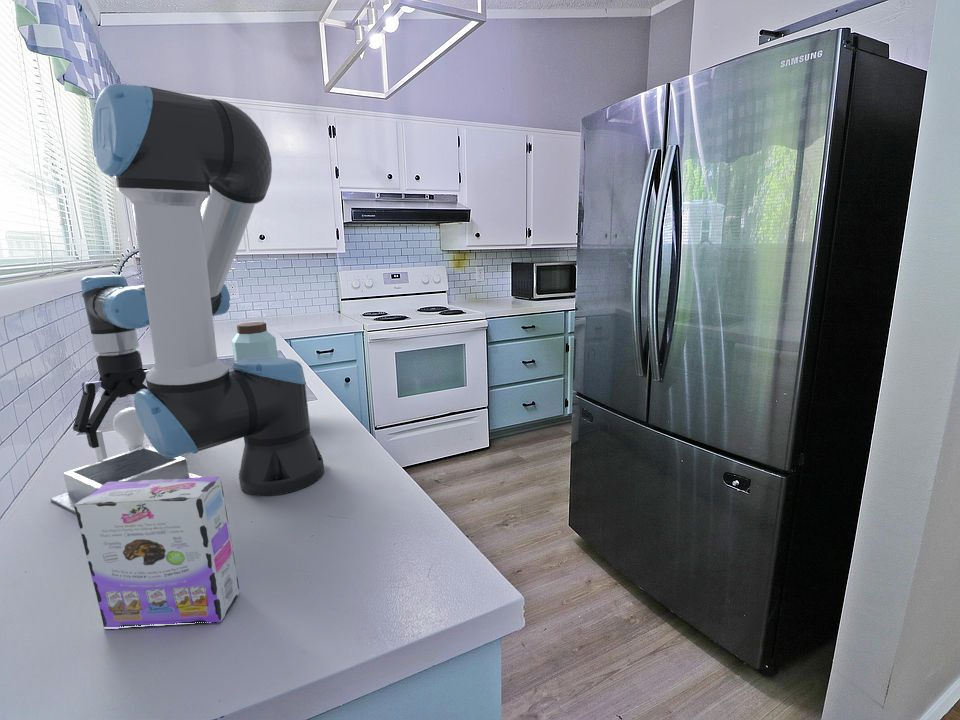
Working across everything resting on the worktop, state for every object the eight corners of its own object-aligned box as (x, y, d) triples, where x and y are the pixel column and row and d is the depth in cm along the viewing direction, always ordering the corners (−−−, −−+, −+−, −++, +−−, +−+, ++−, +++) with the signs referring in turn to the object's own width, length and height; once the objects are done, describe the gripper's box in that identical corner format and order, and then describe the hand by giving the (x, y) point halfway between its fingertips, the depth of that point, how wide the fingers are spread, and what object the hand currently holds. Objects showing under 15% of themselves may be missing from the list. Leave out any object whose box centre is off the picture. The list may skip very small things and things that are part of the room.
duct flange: (206, 480, 97) (202, 456, 96) (99, 526, 82) (93, 498, 81) (155, 462, 106) (151, 440, 105) (51, 500, 91) (44, 475, 90)
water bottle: (294, 418, 131) (282, 322, 125) (259, 431, 123) (245, 328, 117) (269, 413, 136) (257, 320, 130) (234, 424, 128) (220, 326, 122)
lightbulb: (138, 463, 106) (128, 413, 104) (112, 462, 108) (102, 412, 105) (162, 451, 112) (153, 403, 110) (138, 450, 114) (129, 402, 111)
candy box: (242, 592, 66) (223, 473, 62) (221, 625, 60) (199, 497, 56) (132, 597, 65) (107, 478, 61) (100, 631, 59) (70, 503, 56)
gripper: (168, 339, 117) (183, 428, 122) (36, 362, 96) (60, 468, 101) (187, 342, 113) (202, 433, 118) (53, 366, 93) (78, 475, 98)
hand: (136, 449), depth 110 cm, fingers open, 12 cm apart
